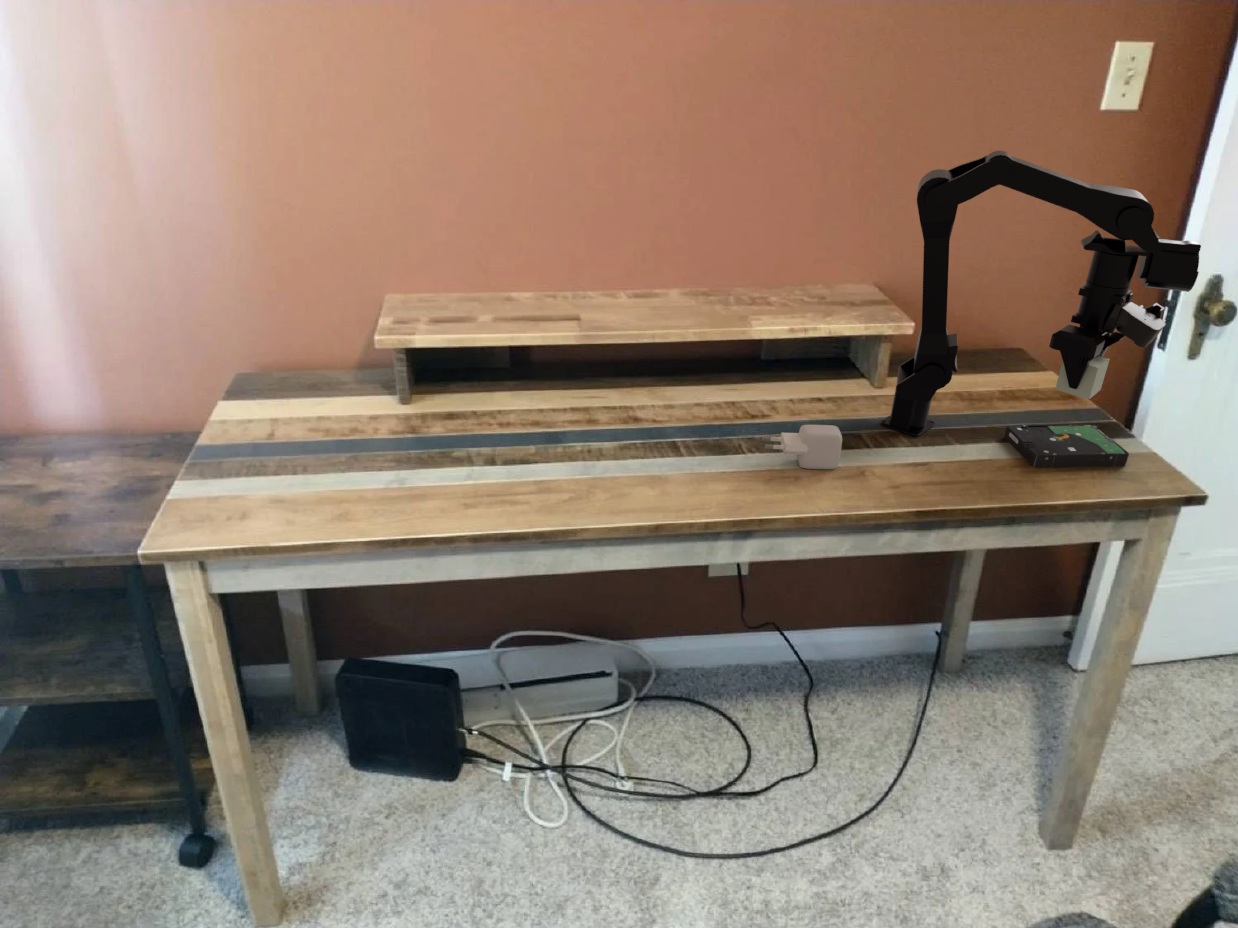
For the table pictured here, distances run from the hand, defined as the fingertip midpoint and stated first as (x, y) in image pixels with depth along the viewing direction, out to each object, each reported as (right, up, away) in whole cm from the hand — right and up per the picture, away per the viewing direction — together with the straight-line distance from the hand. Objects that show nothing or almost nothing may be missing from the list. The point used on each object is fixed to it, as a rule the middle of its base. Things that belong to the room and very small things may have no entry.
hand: (1079, 383), depth 146 cm
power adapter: (-43, -12, -2) cm, 44 cm away
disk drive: (0, -11, +5) cm, 12 cm away
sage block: (0, -1, 0) cm, 1 cm away
